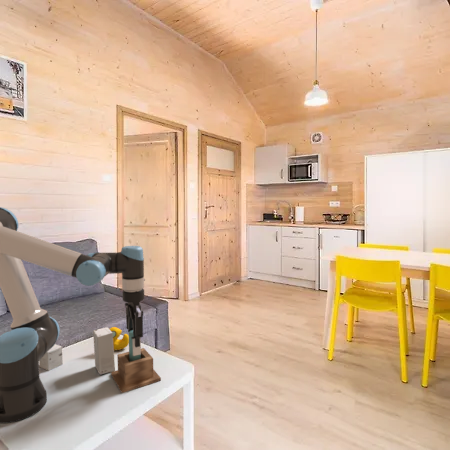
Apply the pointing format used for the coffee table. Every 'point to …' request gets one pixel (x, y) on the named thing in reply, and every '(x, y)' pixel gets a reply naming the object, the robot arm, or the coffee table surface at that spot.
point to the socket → (134, 372)
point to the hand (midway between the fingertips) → (134, 352)
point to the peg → (131, 357)
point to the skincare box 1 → (52, 358)
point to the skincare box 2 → (104, 350)
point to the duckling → (116, 342)
